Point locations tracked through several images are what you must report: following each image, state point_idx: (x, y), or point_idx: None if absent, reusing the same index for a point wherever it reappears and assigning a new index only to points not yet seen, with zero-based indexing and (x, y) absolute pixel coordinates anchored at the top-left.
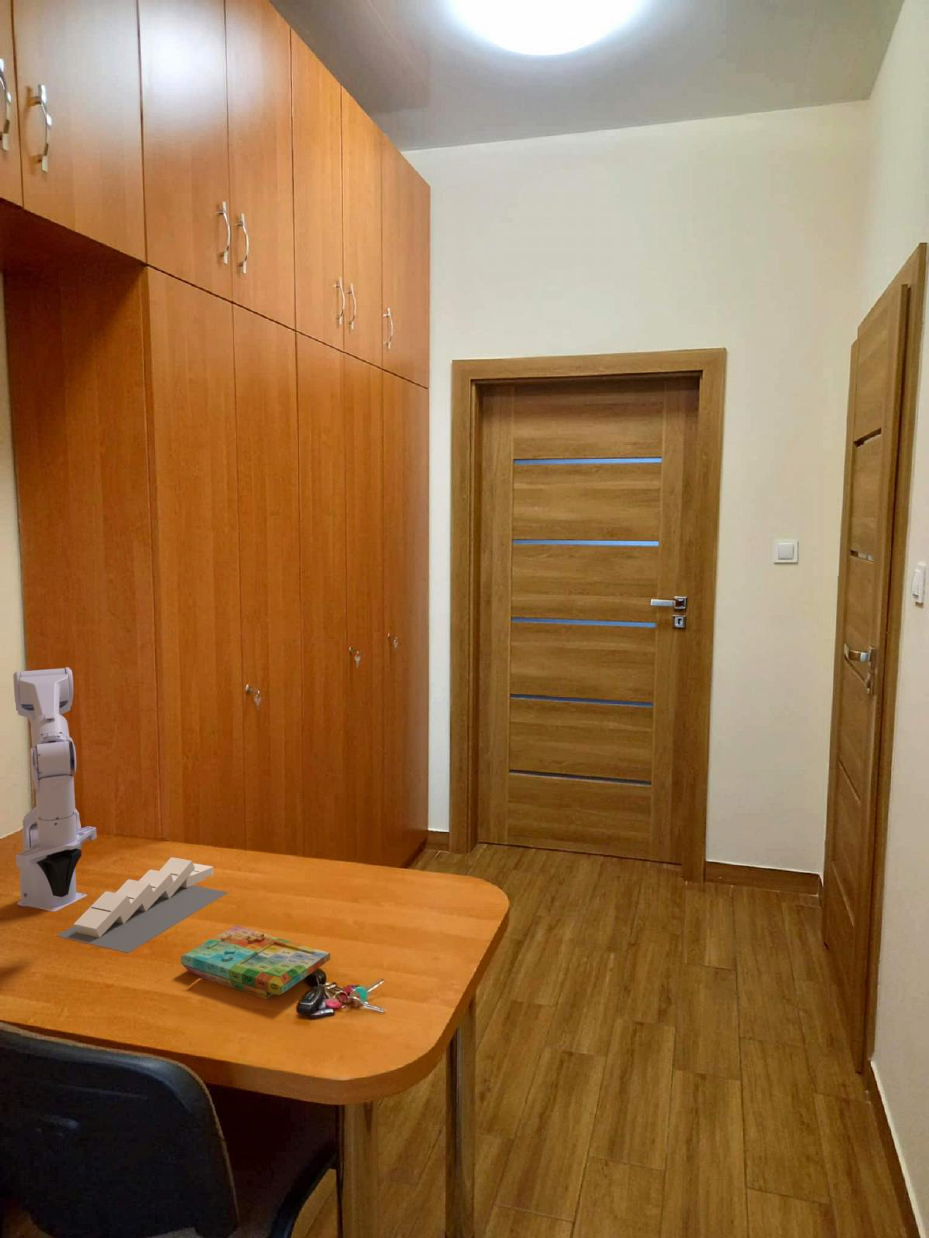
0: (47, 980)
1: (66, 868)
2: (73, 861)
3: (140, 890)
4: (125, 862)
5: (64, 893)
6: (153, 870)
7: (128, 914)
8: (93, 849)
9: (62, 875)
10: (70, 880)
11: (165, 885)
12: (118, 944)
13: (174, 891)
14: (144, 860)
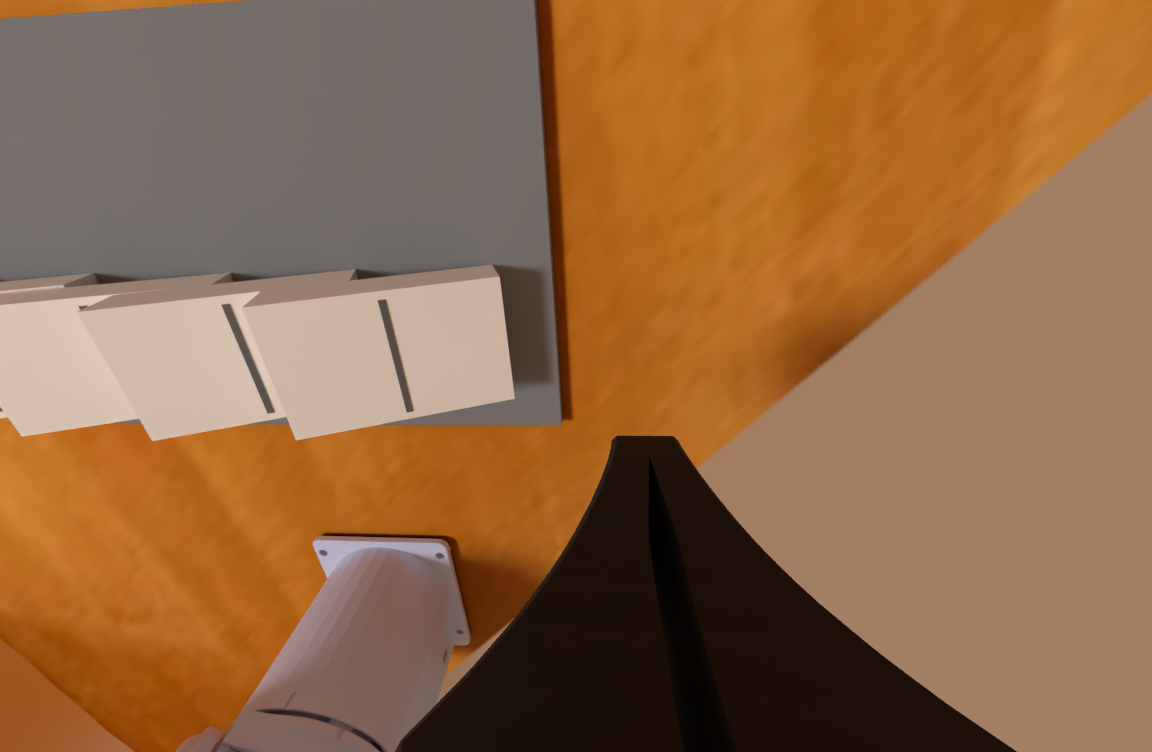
0: (849, 183)
1: (715, 632)
2: (597, 693)
3: (158, 318)
4: (118, 595)
5: (658, 444)
6: (11, 414)
7: (309, 277)
8: (158, 691)
9: (750, 570)
10: (607, 495)
11: (34, 294)
12: (495, 122)
13: (41, 279)
14: (62, 564)
